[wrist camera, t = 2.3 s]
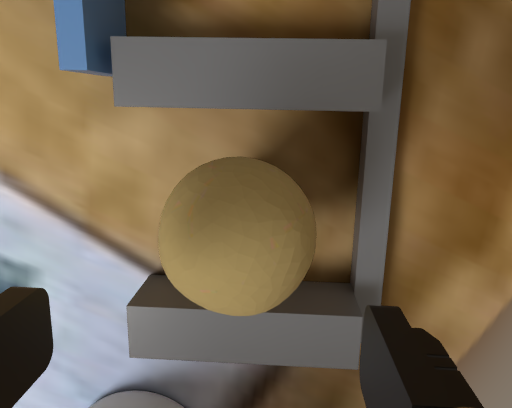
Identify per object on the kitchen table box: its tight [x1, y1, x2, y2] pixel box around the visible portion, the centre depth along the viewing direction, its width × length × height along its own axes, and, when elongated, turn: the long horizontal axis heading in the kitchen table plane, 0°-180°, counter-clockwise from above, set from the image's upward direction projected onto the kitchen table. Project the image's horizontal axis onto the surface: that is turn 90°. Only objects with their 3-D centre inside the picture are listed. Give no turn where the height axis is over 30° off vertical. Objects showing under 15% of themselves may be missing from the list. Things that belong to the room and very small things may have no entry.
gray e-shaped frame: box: [54, 0, 411, 370], centre depth 20 cm, size 29×15×5 cm, turn 179°
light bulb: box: [158, 157, 316, 316], centre depth 19 cm, size 6×6×10 cm
